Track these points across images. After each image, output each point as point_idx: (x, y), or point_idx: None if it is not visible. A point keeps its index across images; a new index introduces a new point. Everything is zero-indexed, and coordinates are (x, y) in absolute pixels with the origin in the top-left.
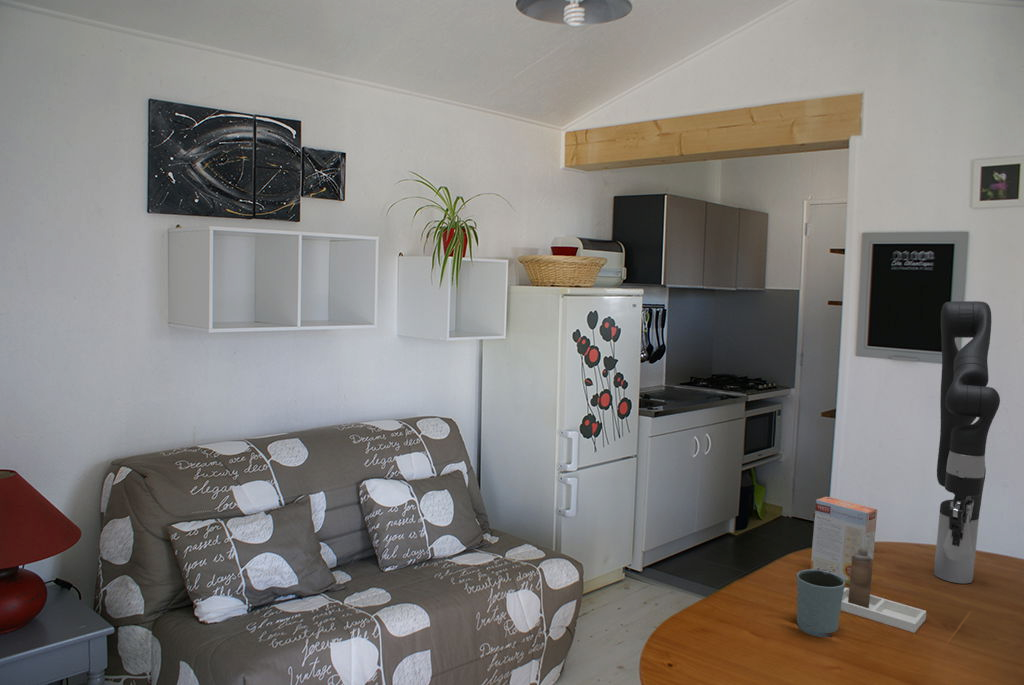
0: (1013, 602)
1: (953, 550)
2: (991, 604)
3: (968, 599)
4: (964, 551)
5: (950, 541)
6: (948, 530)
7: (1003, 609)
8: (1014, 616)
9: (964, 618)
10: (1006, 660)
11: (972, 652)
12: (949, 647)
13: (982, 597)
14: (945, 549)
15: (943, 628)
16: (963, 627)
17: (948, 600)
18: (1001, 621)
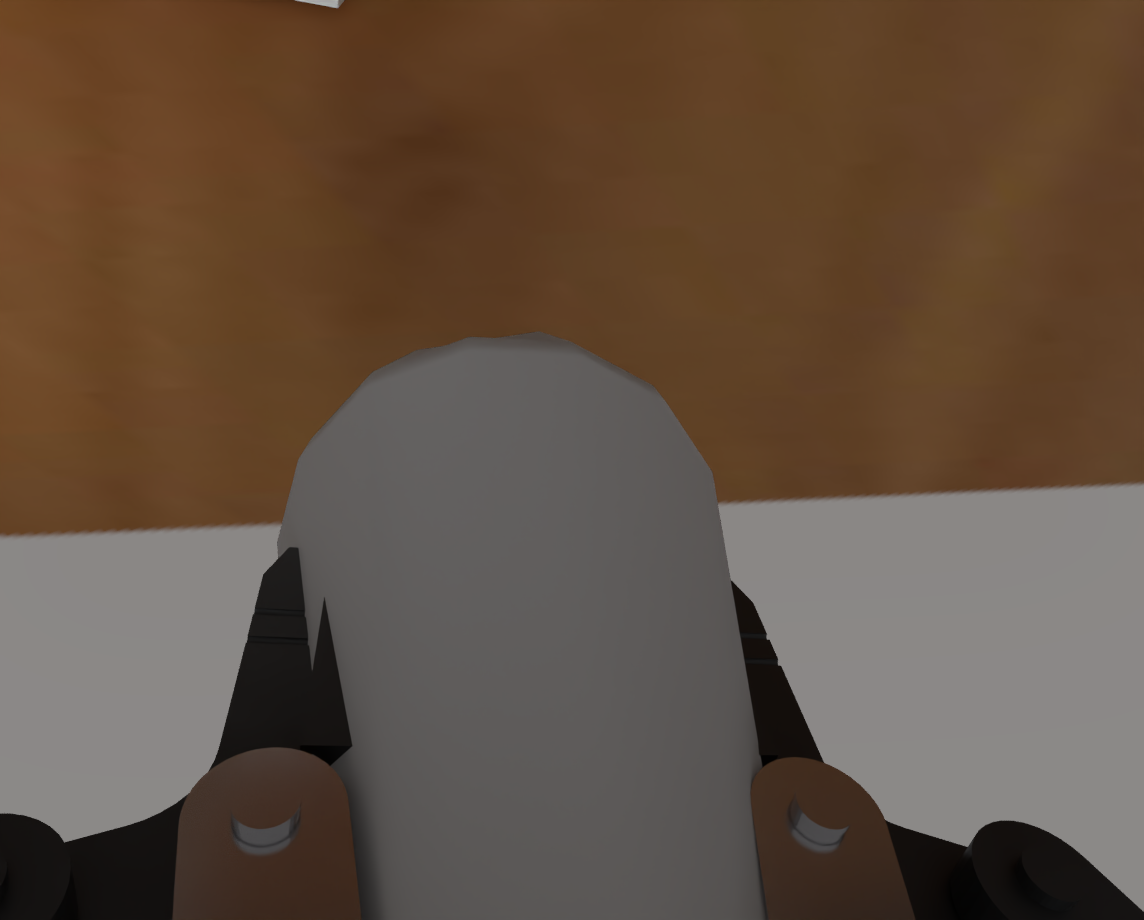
0: (1069, 479)
1: (289, 515)
2: (989, 385)
3: (1026, 260)
4: None
5: (320, 549)
6: (492, 620)
7: (933, 443)
8: (847, 493)
9: (650, 258)
10: (127, 495)
11: (69, 335)
12: (11, 200)
13: (1094, 334)
14: (365, 380)
15: (352, 138)
16: (475, 261)
17: (952, 137)
18: (728, 444)
